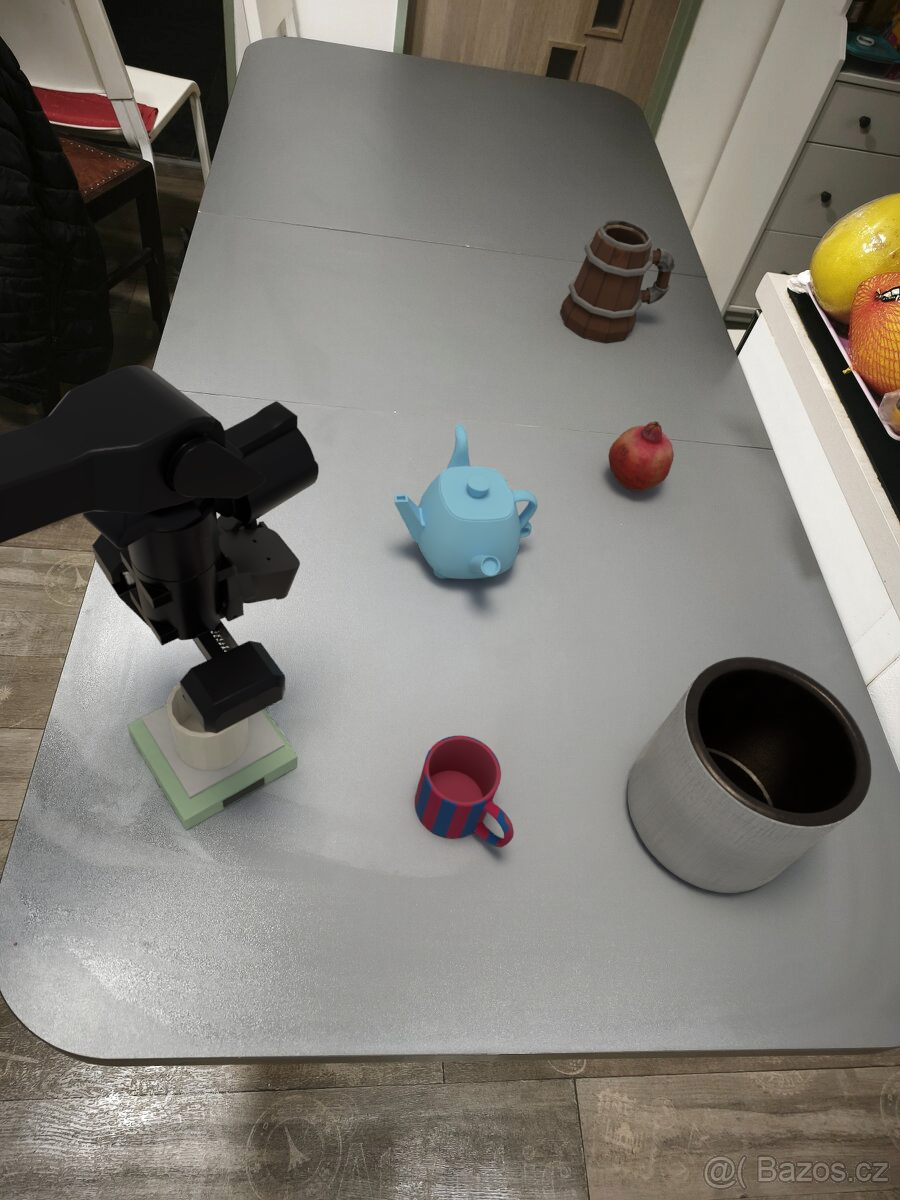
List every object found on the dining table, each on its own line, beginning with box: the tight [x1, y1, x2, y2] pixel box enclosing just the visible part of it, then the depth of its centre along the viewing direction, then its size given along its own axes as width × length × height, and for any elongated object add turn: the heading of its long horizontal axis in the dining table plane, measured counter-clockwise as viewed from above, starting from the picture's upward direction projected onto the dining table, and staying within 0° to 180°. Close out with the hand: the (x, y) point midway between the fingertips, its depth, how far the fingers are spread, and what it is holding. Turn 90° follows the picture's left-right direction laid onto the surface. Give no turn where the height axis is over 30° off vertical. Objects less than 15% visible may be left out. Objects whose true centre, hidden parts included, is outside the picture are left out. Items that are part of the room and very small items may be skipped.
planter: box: [627, 656, 872, 894], centre depth 72 cm, size 16×16×16 cm
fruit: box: [608, 420, 675, 492], centre depth 104 cm, size 8×8×10 cm
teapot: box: [393, 423, 538, 580], centre depth 91 cm, size 15×14×11 cm
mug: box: [559, 218, 676, 344], centre depth 126 cm, size 16×12×15 cm
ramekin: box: [166, 681, 249, 771], centre depth 71 cm, size 6×6×6 cm
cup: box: [414, 735, 515, 848], centre depth 72 cm, size 7×10×7 cm
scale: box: [126, 704, 299, 831], centre depth 74 cm, size 11×11×2 cm
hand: (196, 677), depth 66 cm, fingers open, 9 cm apart
